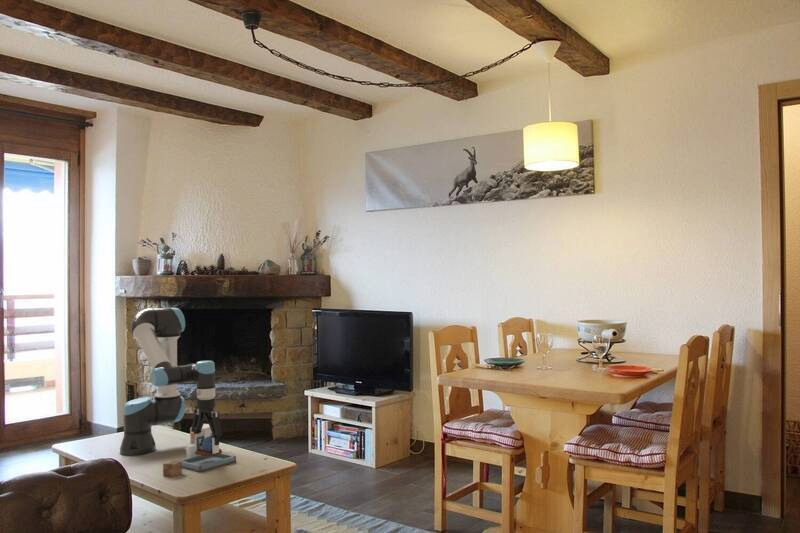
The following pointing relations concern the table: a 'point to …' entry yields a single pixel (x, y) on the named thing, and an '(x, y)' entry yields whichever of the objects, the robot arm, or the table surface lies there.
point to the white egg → (191, 451)
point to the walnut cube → (172, 468)
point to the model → (205, 446)
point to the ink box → (205, 432)
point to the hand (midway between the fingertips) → (207, 451)
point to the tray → (207, 462)
